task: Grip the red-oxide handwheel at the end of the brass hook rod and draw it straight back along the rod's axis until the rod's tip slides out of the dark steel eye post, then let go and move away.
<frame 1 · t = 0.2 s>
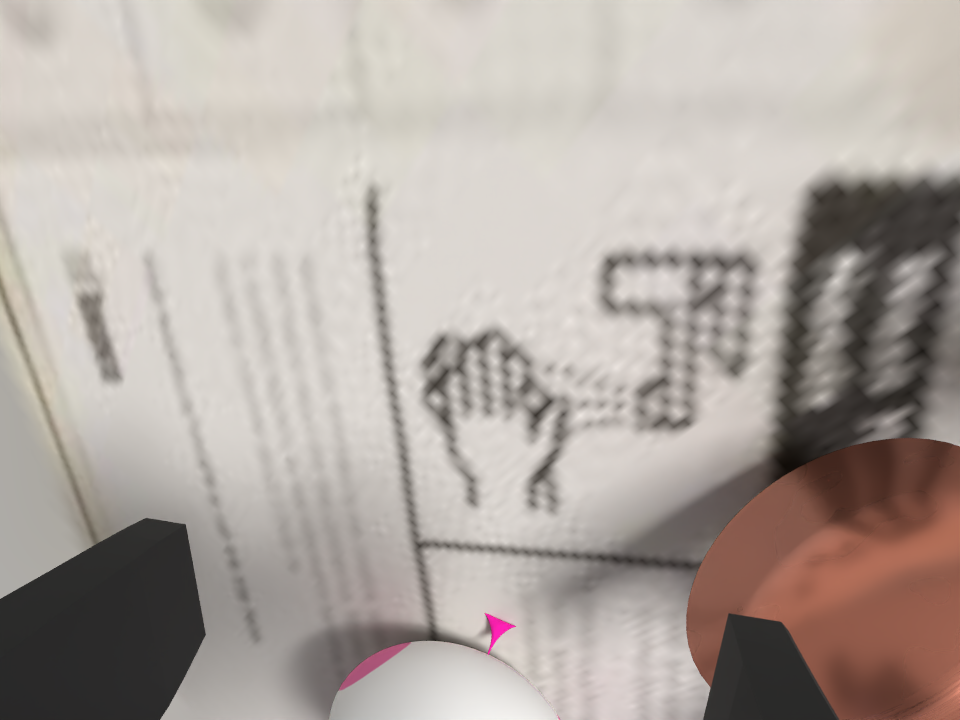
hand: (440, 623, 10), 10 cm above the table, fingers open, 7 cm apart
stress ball: (467, 676, 25), on the table
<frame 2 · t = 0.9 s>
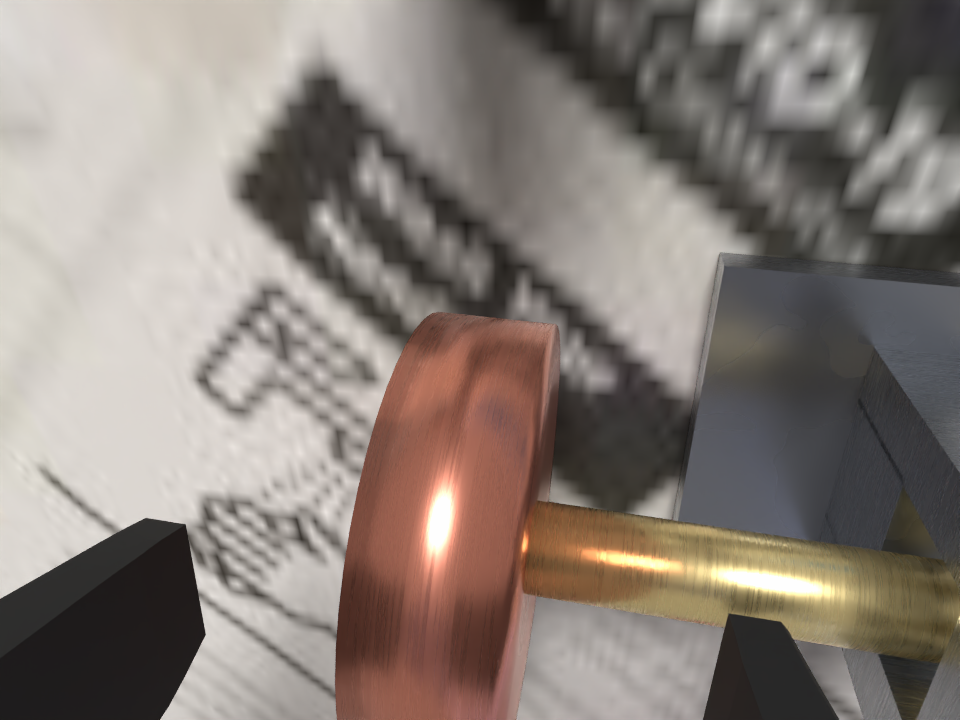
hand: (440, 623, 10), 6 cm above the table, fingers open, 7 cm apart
eye post: (875, 442, 14), on the table
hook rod: (796, 588, 11), point 5 cm above the table, slide at 0.0 cm
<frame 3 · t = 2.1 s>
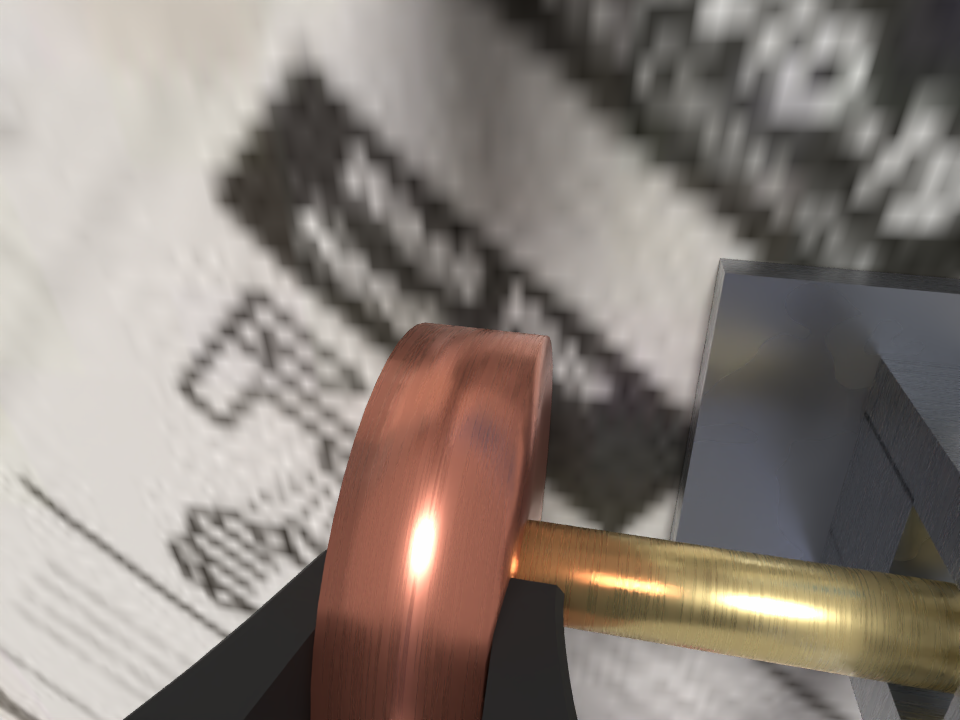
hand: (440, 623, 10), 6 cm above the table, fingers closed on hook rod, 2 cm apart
eye post: (881, 454, 14), on the table
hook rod: (799, 612, 10), point 5 cm above the table, slide at 0.0 cm, touching gripper
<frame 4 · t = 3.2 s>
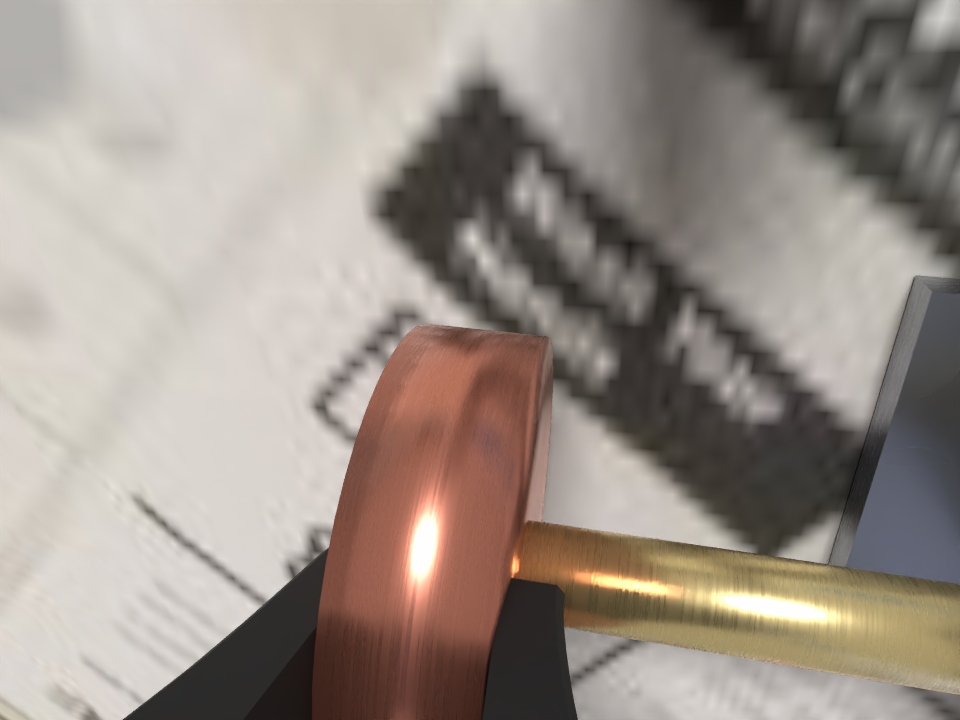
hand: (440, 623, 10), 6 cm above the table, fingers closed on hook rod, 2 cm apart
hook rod: (800, 613, 10), point 5 cm above the table, slide at 3.2 cm, touching gripper
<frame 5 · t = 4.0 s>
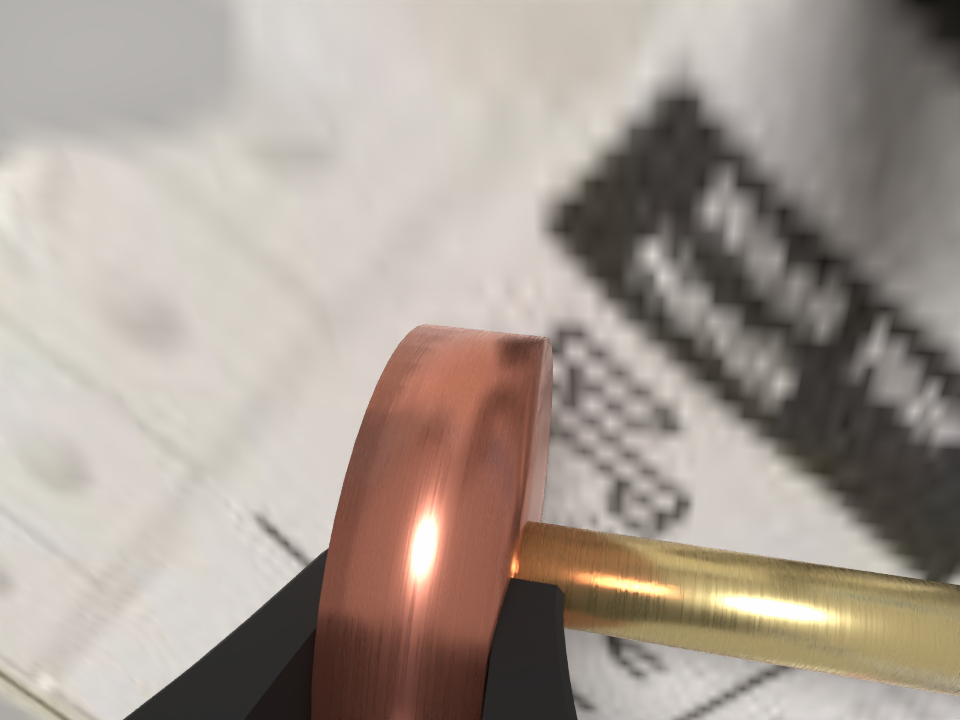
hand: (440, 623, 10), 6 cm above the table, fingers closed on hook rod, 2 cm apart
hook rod: (799, 614, 10), point 5 cm above the table, slide at 6.5 cm, touching gripper
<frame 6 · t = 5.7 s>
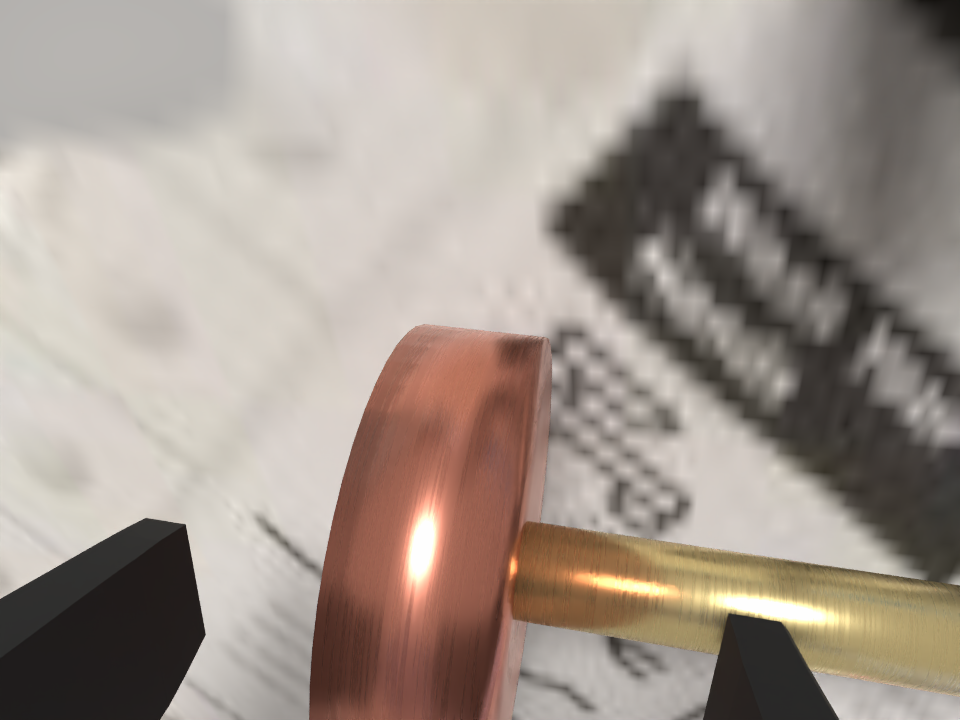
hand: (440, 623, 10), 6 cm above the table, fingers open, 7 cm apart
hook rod: (798, 614, 10), point 5 cm above the table, slide at 6.5 cm
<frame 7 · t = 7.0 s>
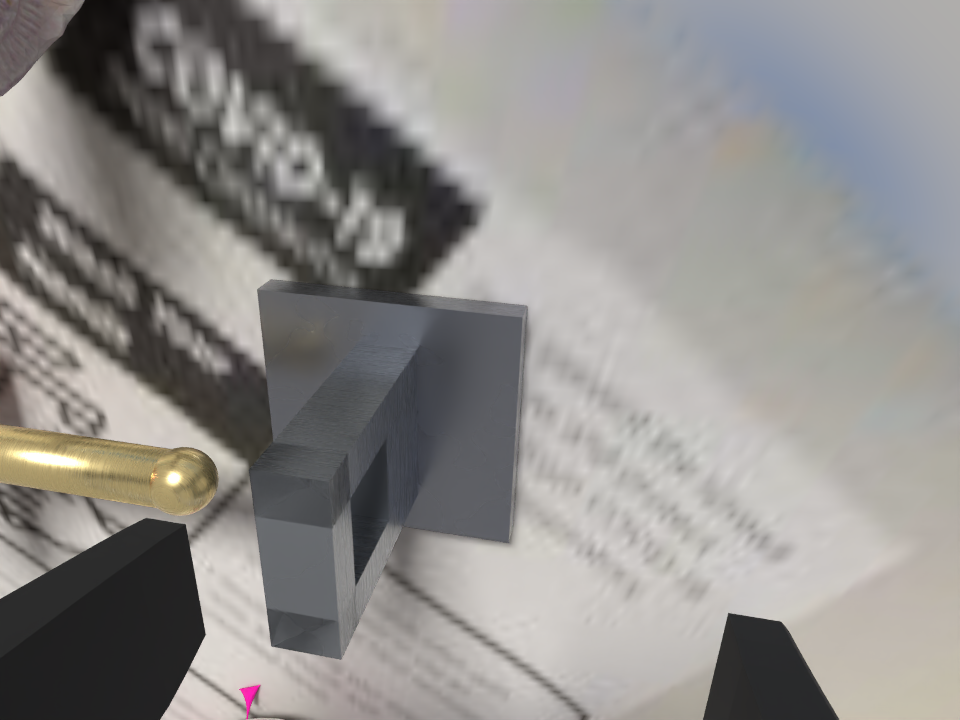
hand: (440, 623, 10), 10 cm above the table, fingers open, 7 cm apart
eye post: (397, 408, 21), on the table
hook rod: (3, 453, 18), point 5 cm above the table, slide at 6.5 cm
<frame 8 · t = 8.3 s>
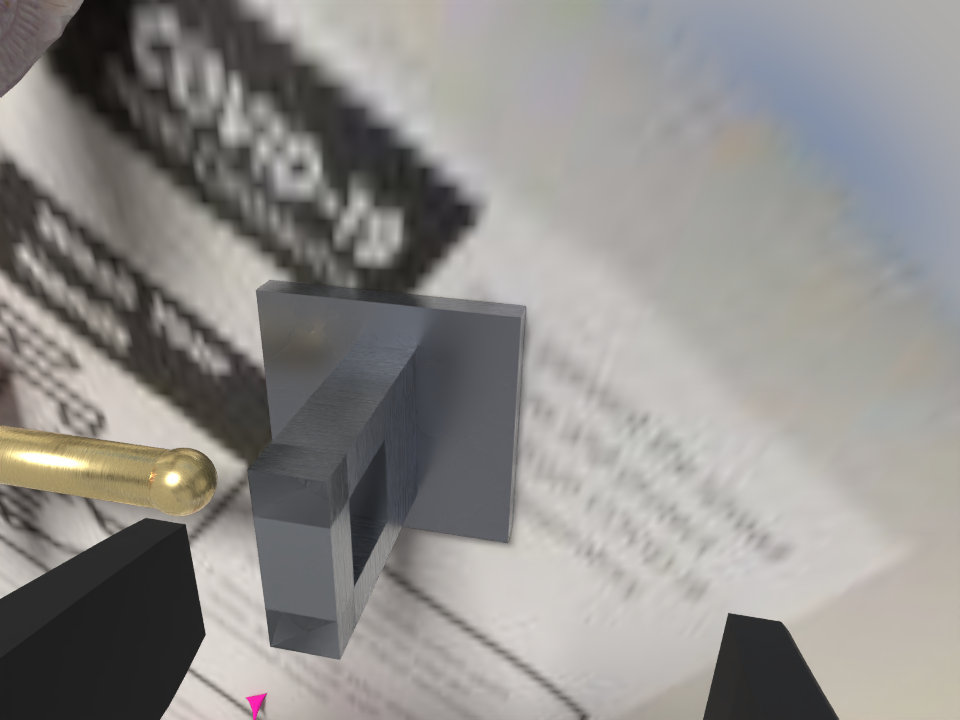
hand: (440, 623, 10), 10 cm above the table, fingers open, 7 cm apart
eye post: (396, 408, 21), on the table
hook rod: (3, 454, 18), point 5 cm above the table, slide at 6.5 cm
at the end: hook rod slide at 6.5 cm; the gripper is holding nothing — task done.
